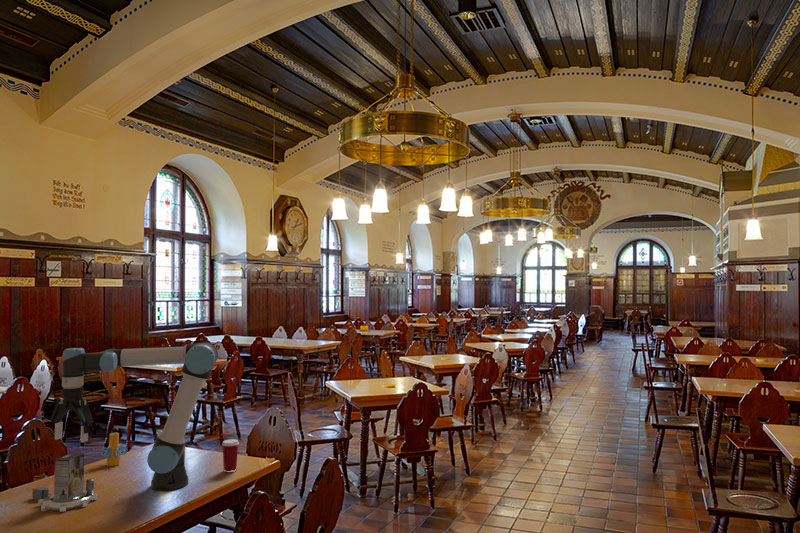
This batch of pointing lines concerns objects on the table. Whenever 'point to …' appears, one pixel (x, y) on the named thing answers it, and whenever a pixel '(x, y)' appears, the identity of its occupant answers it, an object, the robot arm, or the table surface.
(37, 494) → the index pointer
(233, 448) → the paper cup
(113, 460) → the yellow and blue toy
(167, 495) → the table surface
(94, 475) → the table surface
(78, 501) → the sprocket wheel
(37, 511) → the table surface
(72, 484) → the coffee box
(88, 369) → the robot arm
